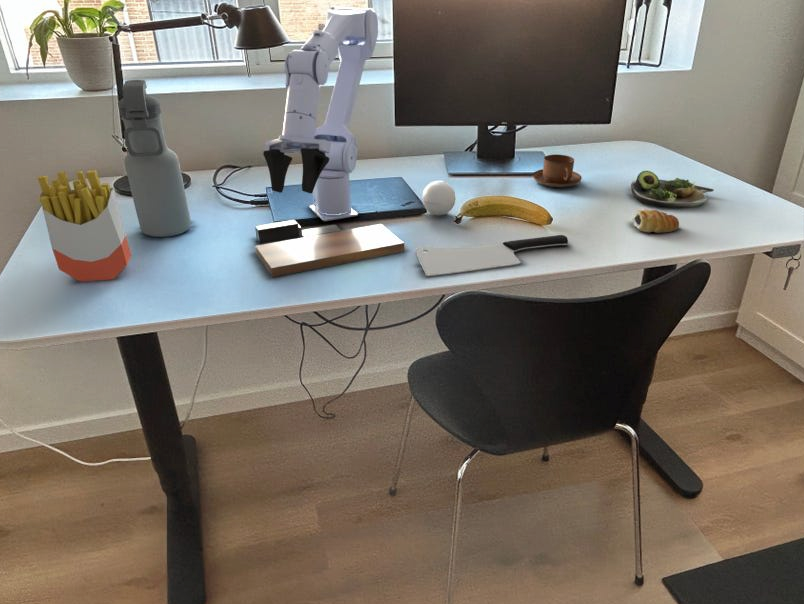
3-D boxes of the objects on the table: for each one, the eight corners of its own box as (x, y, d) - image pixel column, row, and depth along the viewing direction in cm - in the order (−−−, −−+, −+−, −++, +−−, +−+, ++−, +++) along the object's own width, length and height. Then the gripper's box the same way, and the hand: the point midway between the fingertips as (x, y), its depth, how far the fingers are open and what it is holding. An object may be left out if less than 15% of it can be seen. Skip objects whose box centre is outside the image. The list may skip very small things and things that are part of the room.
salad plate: (703, 186, 165) (707, 167, 163) (723, 211, 150) (728, 191, 148) (625, 182, 166) (628, 164, 164) (638, 207, 151) (641, 188, 149)
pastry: (671, 222, 144) (675, 205, 142) (683, 234, 138) (687, 217, 136) (629, 222, 143) (632, 205, 141) (639, 234, 138) (643, 217, 136)
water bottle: (191, 236, 132) (161, 88, 116) (139, 241, 129) (100, 90, 114) (192, 218, 140) (164, 77, 124) (143, 222, 137) (108, 79, 122)
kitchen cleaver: (426, 272, 118) (412, 244, 125) (426, 280, 119) (412, 252, 126) (582, 254, 126) (560, 229, 134) (581, 262, 127) (559, 237, 135)
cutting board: (256, 254, 125) (254, 245, 124) (381, 231, 136) (381, 223, 135) (272, 277, 117) (271, 268, 116) (404, 251, 128) (404, 242, 127)
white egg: (447, 206, 149) (448, 174, 145) (460, 218, 143) (461, 184, 139) (405, 211, 146) (405, 179, 142) (417, 223, 140) (417, 190, 136)
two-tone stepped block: (256, 239, 131) (254, 226, 130) (335, 225, 138) (334, 213, 137) (261, 245, 129) (259, 232, 127) (341, 231, 136) (340, 218, 134)
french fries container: (129, 279, 116) (102, 177, 106) (62, 283, 113) (28, 180, 104) (134, 267, 119) (108, 169, 109) (69, 272, 117) (37, 172, 107)
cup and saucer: (590, 186, 163) (594, 161, 160) (554, 194, 158) (557, 168, 154) (558, 173, 172) (560, 149, 168) (522, 180, 166) (524, 156, 162)
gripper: (256, 112, 121) (247, 185, 122) (315, 108, 114) (306, 187, 115) (283, 124, 128) (275, 194, 128) (341, 121, 120) (332, 196, 121)
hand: (291, 191), depth 122 cm, fingers open, 7 cm apart
